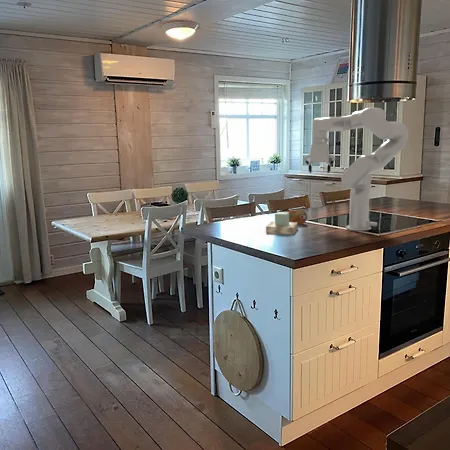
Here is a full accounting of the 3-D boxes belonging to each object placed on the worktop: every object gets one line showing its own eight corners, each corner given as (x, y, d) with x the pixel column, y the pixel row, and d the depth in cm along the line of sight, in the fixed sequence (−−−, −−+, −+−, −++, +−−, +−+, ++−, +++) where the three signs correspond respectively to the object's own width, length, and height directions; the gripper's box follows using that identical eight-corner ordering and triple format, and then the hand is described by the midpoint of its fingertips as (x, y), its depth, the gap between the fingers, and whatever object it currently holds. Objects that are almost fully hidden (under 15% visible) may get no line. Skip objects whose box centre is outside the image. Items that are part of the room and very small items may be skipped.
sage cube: (289, 223, 246) (289, 212, 244) (286, 225, 240) (286, 214, 239) (278, 223, 248) (277, 212, 247) (275, 225, 242) (275, 213, 241)
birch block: (297, 229, 249) (297, 222, 249) (293, 235, 236) (293, 227, 235) (271, 228, 254) (271, 221, 253) (266, 234, 240) (266, 226, 240)
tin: (282, 226, 257) (282, 211, 256) (280, 225, 260) (279, 210, 259) (307, 224, 261) (307, 209, 259) (304, 223, 264) (304, 208, 262)
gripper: (336, 140, 255) (336, 172, 259) (304, 141, 261) (304, 172, 264) (335, 141, 248) (334, 173, 252) (302, 141, 254) (302, 173, 257)
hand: (319, 172), depth 258 cm, fingers open, 9 cm apart
